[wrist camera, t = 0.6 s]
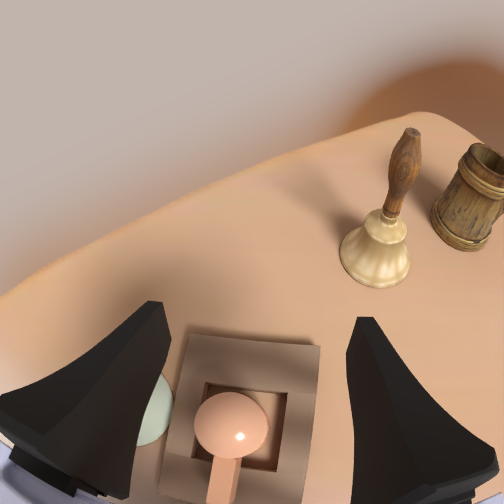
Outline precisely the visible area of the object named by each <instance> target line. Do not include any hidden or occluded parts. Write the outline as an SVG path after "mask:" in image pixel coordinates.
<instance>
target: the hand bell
mask: <svg viewBox="0 0 504 504" xmlns="http://www.w3.org/2000/svg"><path fill="white" fill-rule="evenodd" d="M420 138H421V134H420V132H419V131H418V130H416V129H414V128H406V129H405V131H404V133H403V135H402V137H401V138H400V140H399V141H398V143H397V144H396V146H395V147H394V150H393V152H392V155H391V159H390V163H389V172H388V179H389V190H388V194H387V197H386V200H385V203H384V205H383V208H382V209H376V210H373V211H371V212H370V213H369V214H368V215H367V217H366V218H365V221H364V223H363V225H362V226H360V227H358V228H355V229H354V230H352V231H351V232H350V233H348V234H347V235H346V237H345V238H344V239H343V241H342V244H341V247H340V258H341V262H342V264H343V266H344V268H345V270H346V271H347V272H348V273H349V275H350V276H351V277H352V278H354V279H355V280H356V281H358V282H359V283H361V284H363V285H366V286H369V287H375V288H387V287H392V286H394V285H396V284H398V283H399V282H401V281H402V280H403V279H404V278H405V276H406V275H407V273H408V271H409V268H410V263H411V259H410V253H409V250H408V247H407V245H406V244H405V237H406V233H407V228H406V224H405V222H404V220H403V219H402V217H401V216H400V215H399V213H400V209H401V206H402V202H403V198H404V196H405V194H406V192H407V191H408V190H409V189H410V187H411V186H412V185H413V183H414V181H415V179H416V177H417V175H418V172H419V169H420V165H421V140H420Z"/></svg>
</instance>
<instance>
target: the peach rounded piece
mask: <svg viewBox="0 0 504 504" xmlns="http://www.w3.org/2000/svg"><path fill="white" fill-rule="evenodd" d="M194 429H195V434H196V437H197V439H198V441H199V442H200V444H201V445H202V446H203V448H204V449H206V450H207V451H208V452H209V453H211V454H213V455H214V459H213V465H212V470H211V476H210V482H209V487H208V493H207V498H206V503H208V504H232V503H233V502H234V500H235V496H236V490H237V484H238V479H239V473H240V467H241V461H242V457H243V456H246V455H248V454H250V453H252V452H255V451H257V450H258V449H260V448H261V447H262V446H263V445H264V444H265V443H266V441H267V440H268V437H269V435H270V421H269V419H268V416H267V415H266V413H265V412H264V411H263V410H262V409H261V408H260V407H259V406H258V405H257V404H256V403H255V402H254V401H253V400H252V399H250V398H249V397H247V396H245V395H242V394H239V393H235V392H224V393H219V394H216V395H214V396H212V397H210V398H208V399H207V400H206V401H205V402H204V403H203V404H202V405H201V406H200V408H199V409H198V411H197V413H196V416H195V421H194Z"/></svg>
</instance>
